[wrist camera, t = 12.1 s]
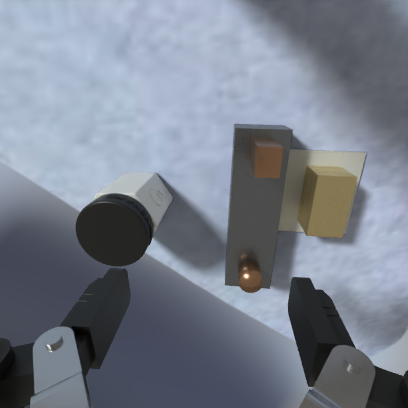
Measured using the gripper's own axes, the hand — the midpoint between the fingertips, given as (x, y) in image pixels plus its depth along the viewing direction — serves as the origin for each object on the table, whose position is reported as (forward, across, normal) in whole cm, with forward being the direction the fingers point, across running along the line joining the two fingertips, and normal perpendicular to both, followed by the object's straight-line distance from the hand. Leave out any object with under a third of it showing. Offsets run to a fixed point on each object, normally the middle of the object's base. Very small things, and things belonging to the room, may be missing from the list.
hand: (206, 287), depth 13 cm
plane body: (+26, -5, +6) cm, 27 cm away
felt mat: (+26, -14, +4) cm, 29 cm away
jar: (+26, +11, +6) cm, 29 cm away
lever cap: (+25, -14, +4) cm, 29 cm away
